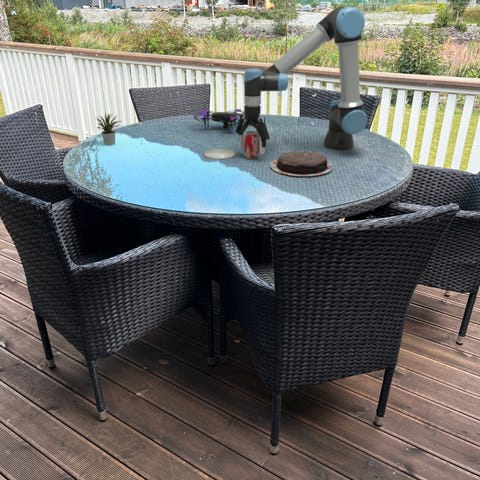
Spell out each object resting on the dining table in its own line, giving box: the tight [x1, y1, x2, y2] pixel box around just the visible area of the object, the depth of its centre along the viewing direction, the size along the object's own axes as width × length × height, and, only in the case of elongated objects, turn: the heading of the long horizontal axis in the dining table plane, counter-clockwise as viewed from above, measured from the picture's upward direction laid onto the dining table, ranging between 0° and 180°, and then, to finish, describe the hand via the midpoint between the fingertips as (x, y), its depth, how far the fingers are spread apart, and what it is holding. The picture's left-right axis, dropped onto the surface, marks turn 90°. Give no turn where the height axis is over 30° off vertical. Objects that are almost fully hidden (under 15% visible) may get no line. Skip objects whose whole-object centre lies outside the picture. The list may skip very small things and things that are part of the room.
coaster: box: [204, 148, 236, 160], centre depth 223 cm, size 15×15×1 cm
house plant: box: [95, 112, 122, 146], centre depth 235 cm, size 14×14×16 cm
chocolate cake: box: [269, 151, 333, 178], centre depth 205 cm, size 28×28×7 cm
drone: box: [193, 108, 244, 135], centre depth 266 cm, size 40×10×28 cm
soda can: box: [243, 130, 260, 160], centre depth 217 cm, size 7×7×12 cm
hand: (251, 151), depth 218 cm, fingers open, 13 cm apart
